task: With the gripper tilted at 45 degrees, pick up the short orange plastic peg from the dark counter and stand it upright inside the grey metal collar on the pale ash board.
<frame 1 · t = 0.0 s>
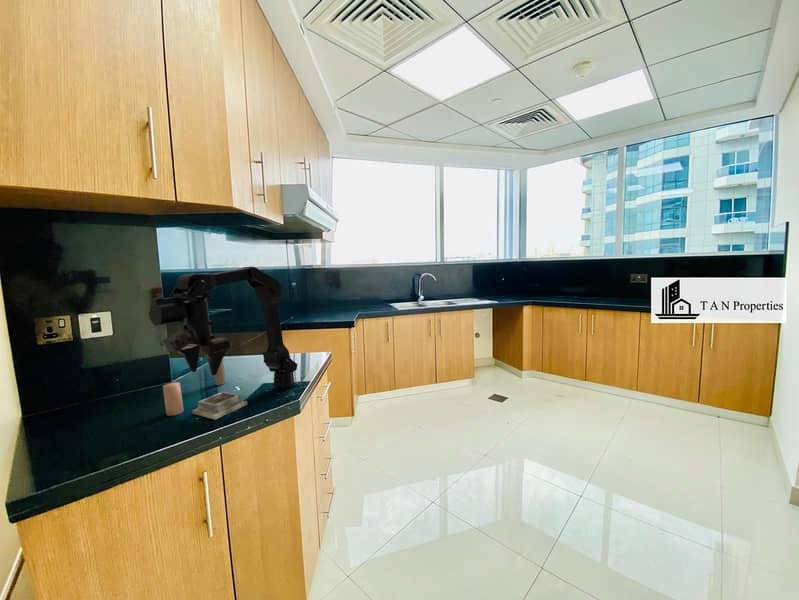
hand: (203, 373, 92), 15 cm above the worktop, tool pointing down, fingers open, 9 cm apart
socket board: (220, 408, 103), on the worktop
peg: (175, 412, 102), on the worktop
handle: (220, 384, 126), on the worktop
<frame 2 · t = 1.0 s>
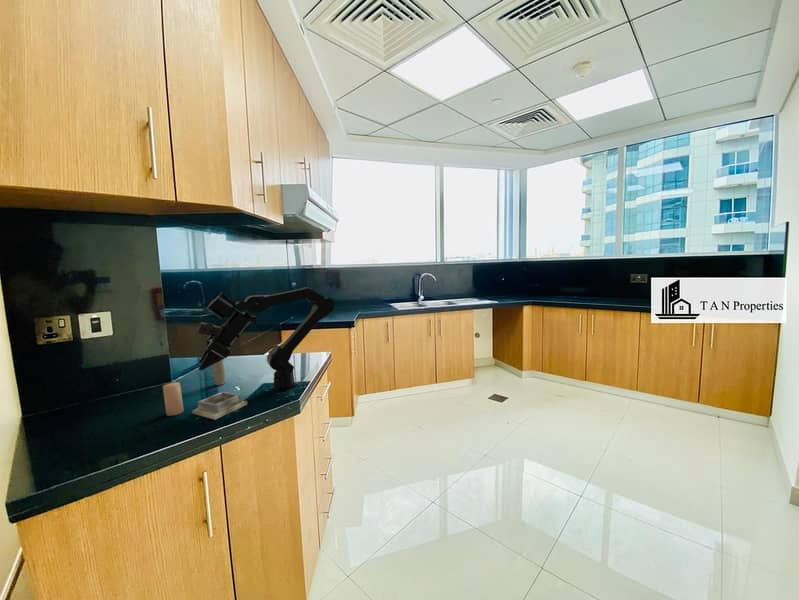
hand: (200, 366, 105), 13 cm above the worktop, tool tilted 45°, fingers open, 9 cm apart
nothing on the worktop moved.
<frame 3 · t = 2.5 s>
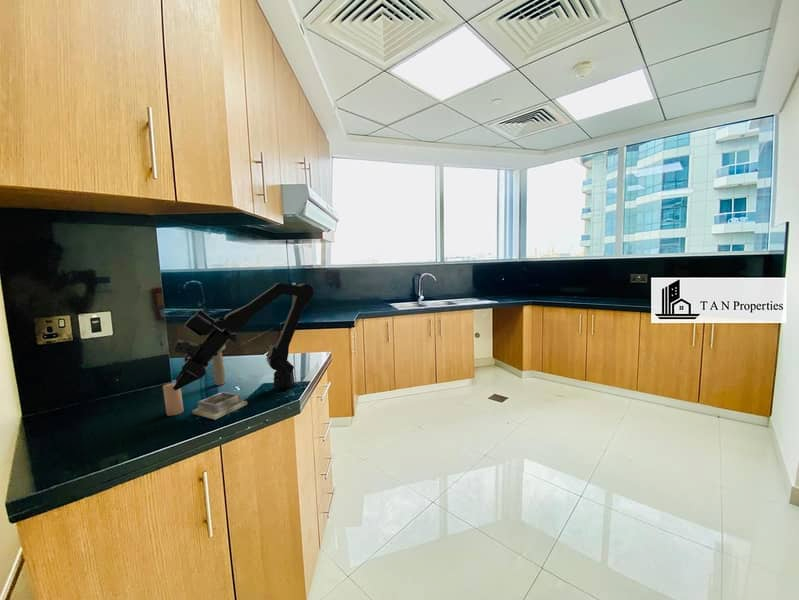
hand: (175, 385, 102), 9 cm above the worktop, tool tilted 45°, fingers open, 9 cm apart
nothing on the worktop moved.
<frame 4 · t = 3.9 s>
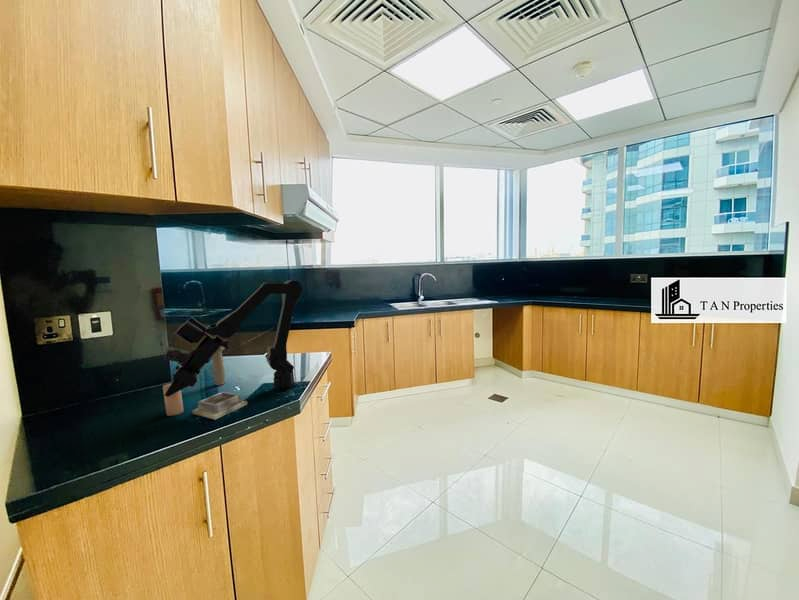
hand: (167, 393, 101), 7 cm above the worktop, tool tilted 45°, fingers closed on peg, 4 cm apart
peg: (175, 412, 102), on the worktop, touching gripper
everything else where it was.
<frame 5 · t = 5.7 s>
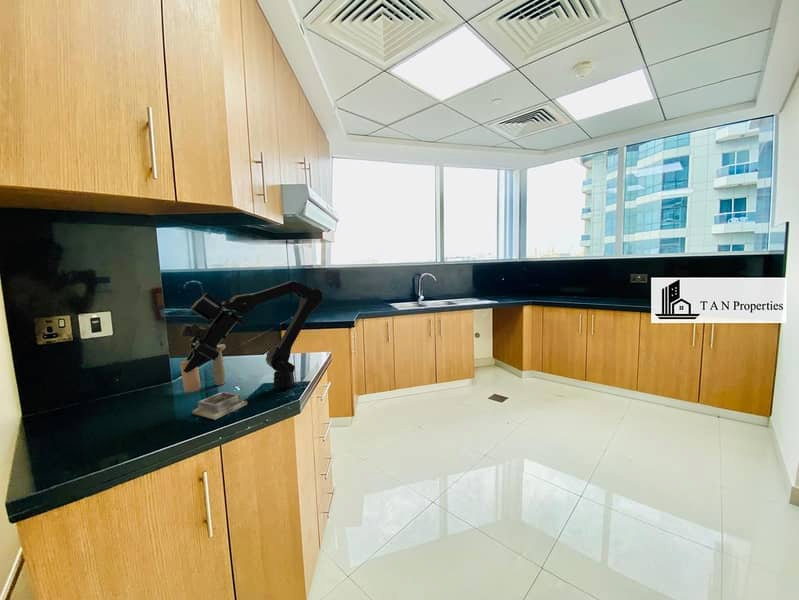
hand: (184, 370, 100), 14 cm above the worktop, tool tilted 45°, fingers closed on peg, 4 cm apart
peg: (192, 389, 101), point 7 cm above the worktop, touching gripper
everything else where it was.
when the fingers open (9 cm above the worktop, at t = 7.7 s): peg drops 1 cm, resting on socket board.
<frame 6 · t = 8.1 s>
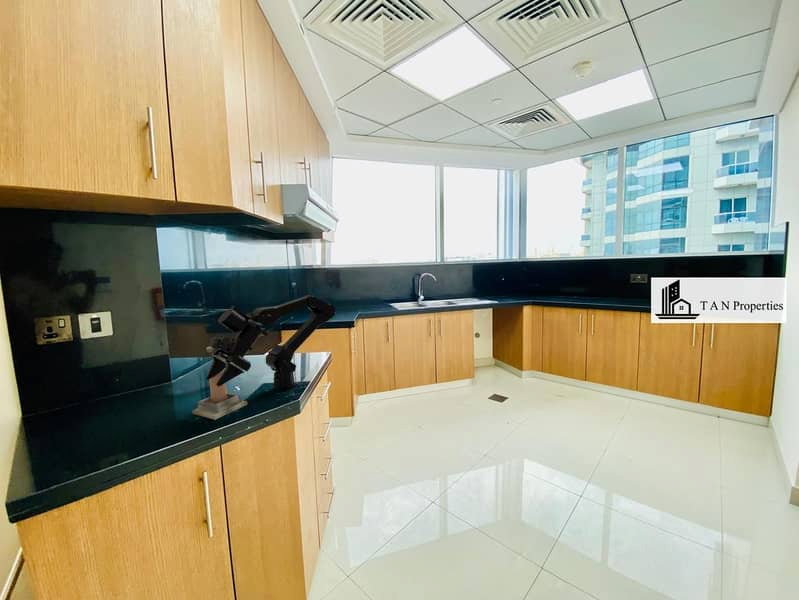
hand: (212, 382, 101), 9 cm above the worktop, tool tilted 45°, fingers open, 9 cm apart
peg: (220, 405, 103), point 1 cm above the worktop, touching socket board
everything else where it was.
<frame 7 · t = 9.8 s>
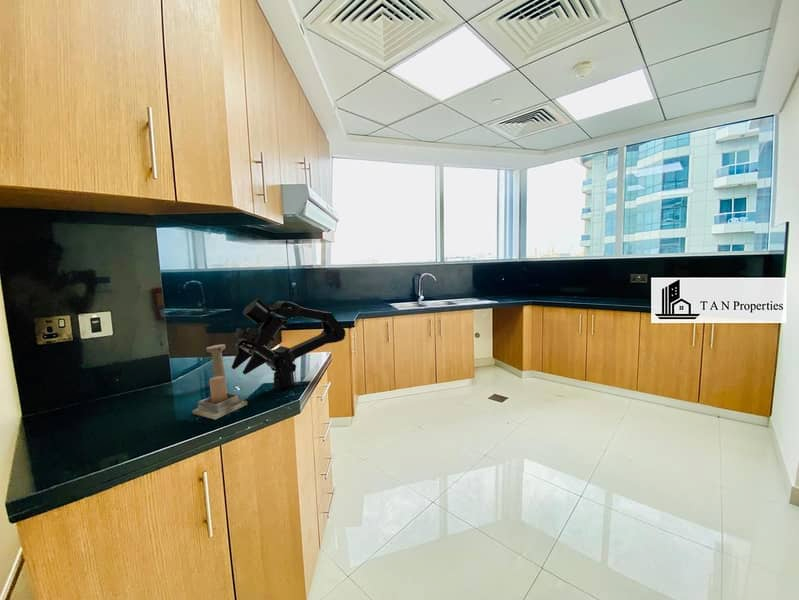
hand: (238, 371, 106), 11 cm above the worktop, tool tilted 45°, fingers open, 9 cm apart
nothing on the worktop moved.
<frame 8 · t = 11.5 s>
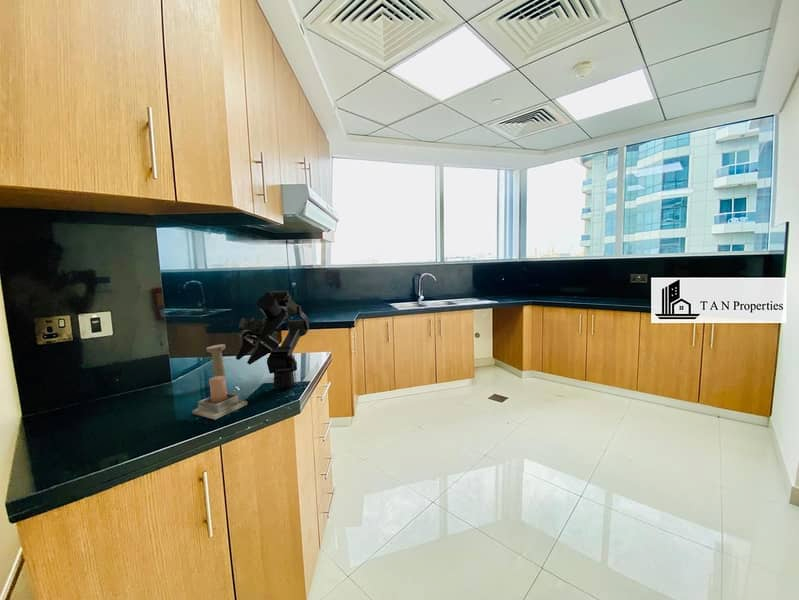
hand: (242, 361, 106), 14 cm above the worktop, tool tilted 45°, fingers open, 9 cm apart
nothing on the worktop moved.
at the end: peg 0.1 cm off-centre on the socket board, point 1.0 cm above the socket board's base; peg tilted 0°; the gripper is holding nothing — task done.
